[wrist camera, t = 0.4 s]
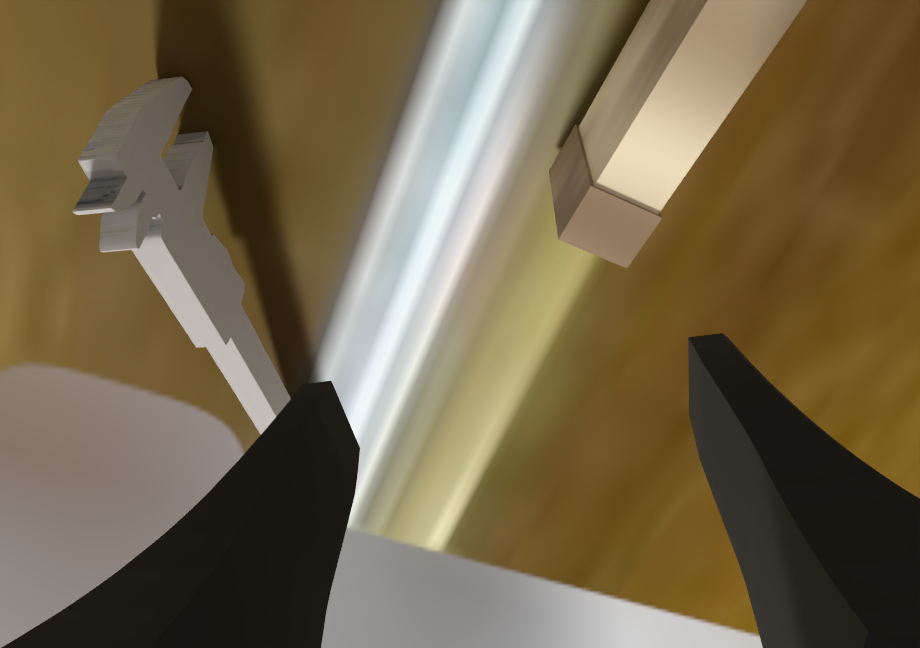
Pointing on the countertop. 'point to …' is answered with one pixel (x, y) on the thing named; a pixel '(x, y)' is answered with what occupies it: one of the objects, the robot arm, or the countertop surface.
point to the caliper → (176, 233)
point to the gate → (658, 116)
